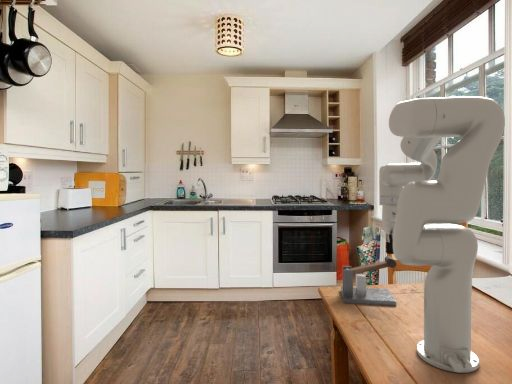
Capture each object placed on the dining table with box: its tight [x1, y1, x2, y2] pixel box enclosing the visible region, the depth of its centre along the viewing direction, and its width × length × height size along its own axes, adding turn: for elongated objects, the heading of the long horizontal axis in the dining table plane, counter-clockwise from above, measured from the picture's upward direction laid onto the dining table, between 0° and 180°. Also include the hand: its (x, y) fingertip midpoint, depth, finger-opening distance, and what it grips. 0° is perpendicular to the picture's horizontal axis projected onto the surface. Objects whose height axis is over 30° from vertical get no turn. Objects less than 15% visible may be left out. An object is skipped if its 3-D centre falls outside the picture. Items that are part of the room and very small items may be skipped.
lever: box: [347, 255, 397, 275], centre depth 111 cm, size 6×17×3 cm, turn 79°
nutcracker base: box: [340, 265, 397, 307], centre depth 112 cm, size 12×17×10 cm
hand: (391, 253), depth 110 cm, fingers closed
